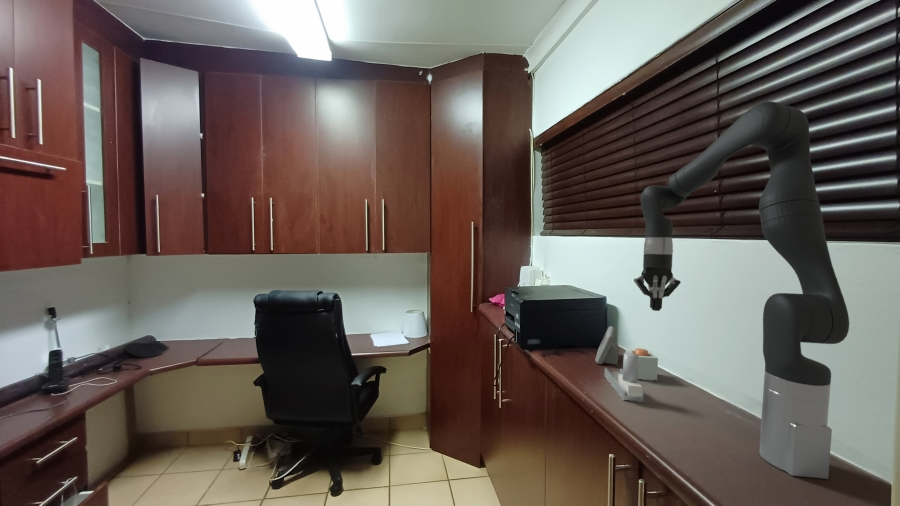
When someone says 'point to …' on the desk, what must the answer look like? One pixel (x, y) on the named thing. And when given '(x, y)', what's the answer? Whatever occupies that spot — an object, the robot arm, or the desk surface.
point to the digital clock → (608, 348)
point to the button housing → (646, 366)
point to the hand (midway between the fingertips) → (655, 310)
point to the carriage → (630, 375)
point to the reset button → (641, 352)
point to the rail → (613, 379)
